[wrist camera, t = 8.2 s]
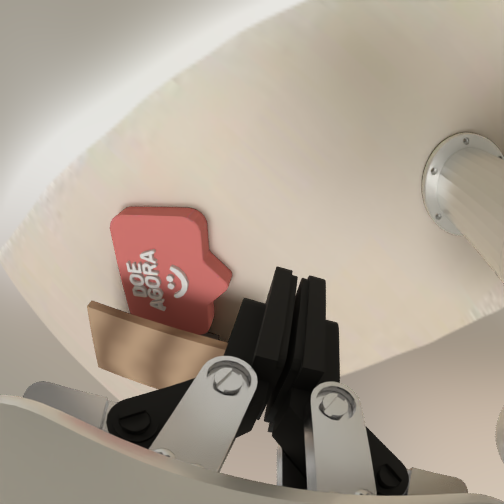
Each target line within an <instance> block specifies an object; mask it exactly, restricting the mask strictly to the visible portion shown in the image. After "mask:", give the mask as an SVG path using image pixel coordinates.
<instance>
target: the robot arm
mask: <svg viewBox="0 0 504 504" xmlns="http://www.w3.org/2000/svg"><path fill="white" fill-rule="evenodd" d="M463 139H464V141H463ZM432 168H433V170H432V171H431V169H432ZM422 195H423V201H424V204H425V208H426V210H427V212H428V214H429V216H430V217H431V218H432V220H433V221H434V222H435V223H436V224H437V225H438V226H439V227H440V228H441V229H443V230H444V231H446V232H447V233H450V234H453V235H458V236H465V237H466V239H467V240H468V241H469V242H470V243H471V244H472V245H473V247H474V248H475V249H476V250H477V251H478V253H479V254H480V255H481V256H482V257H483V259H484V260H485V261H486V262H487V263H488V265H489V266H490V267H491V268H492V270H493V271H494V272H495V273H496V275H497V276H498V277H499V279H500V280H501V281H502V282H503V284H504V156H503V154H502V153H501V151H500V149H499V148H498V147H497V146H496V145H495V144H494V143H493V142H492V141H490V140H489V139H488V138H486V137H483V136H481V135H478V134H474V133H460V134H455V135H453V136H451V137H449V138H447V139H446V140H444V141H443V142H442V143H440V144H439V146H438V147H437V148H436V149H435V150H434V151H433V153H432V154H431V156H430V158H429V159H428V162H427V164H426V167H425V169H424V174H423V179H422ZM436 214H437V215H436ZM297 278H298V277H297V276H294V275H292V270H288V269H284V268H281V267H276V270H275V274H274V277H273V280H272V284H271V287H270V290H269V294H268V297H267V300H266V303H261V302H257V301H254V300H250V299H247V298H244V299H243V302H242V304H241V307H240V310H239V313H238V316H237V319H236V322H235V324H234V327H233V330H232V333H231V336H230V339H229V342H228V344H227V347H226V350H225V353H224V356H219V357H215V358H213V359H211V360H209V361H207V362H206V364H205V365H204V366H203V367H202V369H201V370H200V372H199V373H198V375H197V376H196V378H193V379H190V380H187V381H184V382H181V383H178V384H175V385H172V386H169V387H165V388H162V389H159V390H156V391H152V392H149V393H146V394H142V395H139V396H135V397H132V398H128V399H125V400H122V401H120V402H113V401H109V400H108V398H107V397H104V396H100V395H95V394H91V393H87V392H83V391H79V390H76V389H72V388H68V387H65V386H61V385H57V384H54V383H51V382H45V381H41V382H36V383H34V384H32V385H31V386H29V387H28V388H27V390H26V391H25V393H24V395H23V397H19V396H12V395H5V394H0V504H504V502H503V501H501V500H499V499H496V498H493V497H490V496H487V495H482V494H474V493H472V494H471V493H468V489H467V487H466V485H465V483H464V482H463V481H462V480H461V479H458V478H456V477H451V476H447V475H442V474H437V473H433V472H429V471H425V470H421V469H417V468H413V467H412V468H411V469H406V467H405V466H404V465H403V463H402V462H401V461H400V460H399V459H398V458H397V457H396V456H395V455H394V454H393V453H392V452H391V451H390V450H389V449H388V448H387V447H386V446H385V445H384V444H383V443H382V442H381V441H380V440H379V439H378V438H377V437H376V436H375V435H374V434H373V433H372V432H371V431H370V430H369V429H368V428H367V427H366V426H365V421H364V416H363V412H362V407H361V403H360V400H359V397H358V396H357V395H356V394H355V392H354V391H353V390H352V389H350V388H349V387H348V386H346V385H344V384H342V383H340V363H339V327H338V323H337V322H333V321H329V320H326V281H325V280H324V279H321V278H317V277H314V276H309V277H308V279H304V278H302V279H301V282H300V285H299V287H298V290H297V293H296V286H297ZM295 294H296V296H295ZM266 405H267V407H266ZM265 407H266V412H265V417H264V421H265V422H269V428H268V432H272V436H273V438H274V439H275V440H276V441H277V443H278V447H277V485H272V484H266V483H262V482H256V481H252V480H247V479H243V478H239V477H234V476H231V475H227V474H223V473H219V472H220V470H221V468H222V466H223V464H224V462H225V460H226V458H227V456H228V454H229V452H230V450H231V448H232V445H233V443H234V441H235V439H236V438H237V437H239V436H241V435H243V434H245V433H248V432H249V431H251V430H252V428H253V425H254V423H255V421H256V419H257V420H259V419H260V417H261V415H262V413H263V411H264V409H265ZM496 445H497V449H498V452H499V455H500V457H501V459H502V461H503V463H504V407H503V408H502V410H501V412H500V415H499V418H498V421H497V425H496Z"/></svg>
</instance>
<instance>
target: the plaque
mask: <svg viewBox="0 0 504 504" xmlns="http://www.w3.org/2000/svg"><path fill="white" fill-rule="evenodd" d="M110 231H111V236H112V240H113V245H114V250H115V254H116V259H117V263H118V267H119V272H120V276H121V280H122V284H123V288H124V291H125V295H126V299H127V303H128V306H129V310H130V313H131V314H132V315H135V316H138V317H141V318H145V319H148V320H151V321H154V322H157V323H160V324H164V325H167V326H170V327H174V328H177V329H180V330H184V331H187V332H191V333H194V334H198V335H202V334H205V333H207V332H208V330H209V329H210V326H211V323H212V320H213V317H214V303H213V301H214V300H215V299H217V298H218V297H219V296H220V295H221V294H223V293H224V292H225V291H226V290H227V288H228V286H229V283H230V280H231V277H232V273H231V271H230V270H229V269H228V268H227V267H226V266H225V265H224V264H223V263H222V262H221V261H220V260H219V259H217V258H216V257H215V256H214V255H213V254H212V253H211V252H210V250H209V242H208V229H207V221H206V219H205V217H204V215H203V214H202V213H201V212H199V211H197V210H196V209H192V208H180V207H127V208H125V209H124V210H123V211H121V212H120V213H119V214H118V215H117V216H115V217H114V218H113V219H112V221H111V224H110Z"/></svg>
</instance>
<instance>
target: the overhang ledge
mask: <svg viewBox="0 0 504 504" xmlns="http://www.w3.org/2000/svg"><path fill="white" fill-rule="evenodd" d="M87 309H88V315H89V321H90V327H91V333H92V338H93V343H94V348H95V353H96V358H97V362H98V367H99V368H102V369H104V370H107V371H109V372H112V373H114V374H117V375H120V376H122V377H125V378H128V379H130V380H133V381H136V382H139V383H142V384H144V385H147V386H150V387H153V388H156V389H162V388H165V387H169V386H172V385H175V384H178V383H181V382H184V381H187V380H190V379H193V378H196V376H197V375H198V373H199V372H200V370H201V369H202V367H203V366H204V365H205V364H206V362H207V361H209V360H211V359H213V358H215V357H219V356H224V353H225V350H226V347H227V344H228V343H227V342H224V341H220V340H218V338H219V335H215V334H211V333H205V334H202V335H198V334H194V333H191V332H187V331H184V330H180V329H177V328H174V327H170V326H167V325H164V324H160V323H157V322H154V321H151V320H148V319H145V318H141V317H138V316H135V315H132V314H129V313H126V312H123V311H120V310H118V309H115V308H112V307H109V306H106V305H103V304H100V303H98V302H95V301H91V302H90V303H89V305H88V306H87Z"/></svg>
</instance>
